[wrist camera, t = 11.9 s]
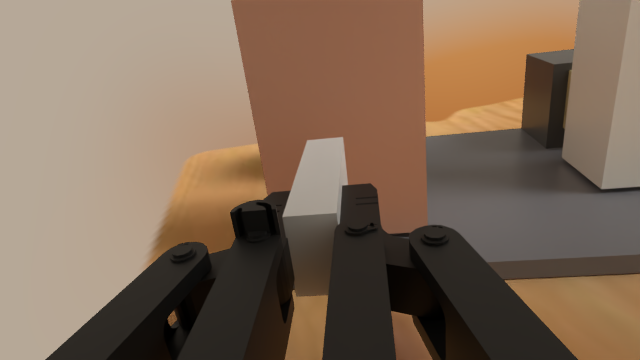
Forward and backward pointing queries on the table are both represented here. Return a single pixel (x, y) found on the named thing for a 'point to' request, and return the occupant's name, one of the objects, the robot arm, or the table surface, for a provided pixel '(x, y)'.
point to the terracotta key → (341, 93)
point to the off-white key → (605, 94)
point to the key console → (532, 191)
